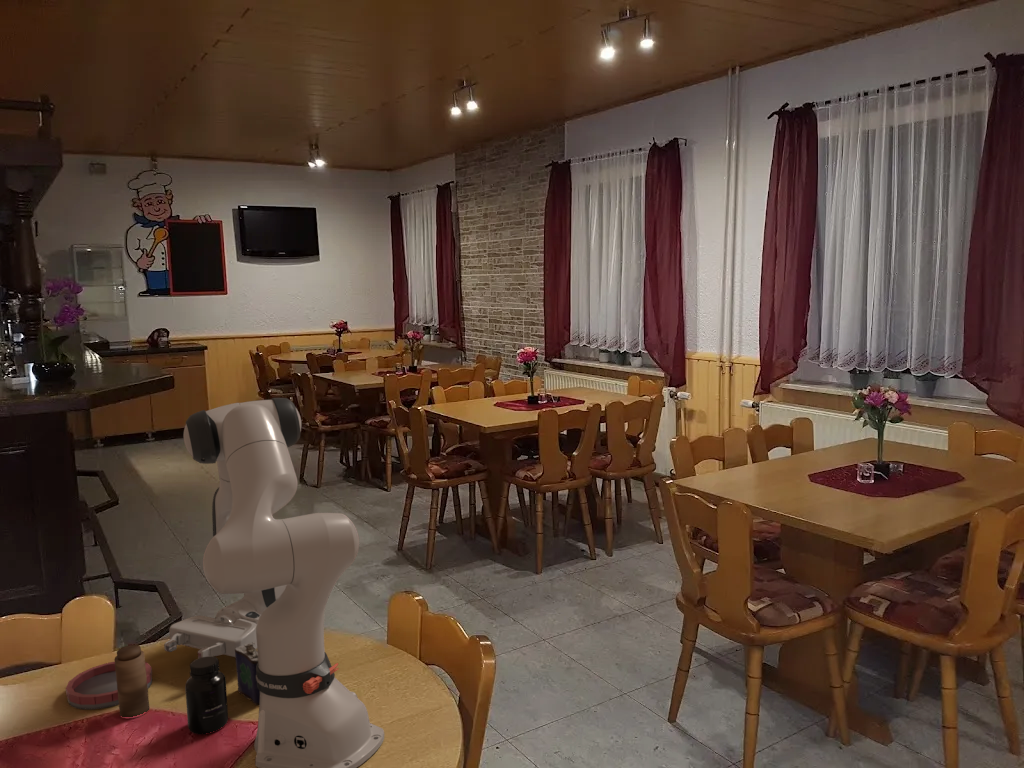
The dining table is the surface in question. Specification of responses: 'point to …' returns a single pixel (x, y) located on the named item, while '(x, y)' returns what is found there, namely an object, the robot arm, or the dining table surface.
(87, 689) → the round tray
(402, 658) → the dining table surface
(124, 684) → the pepper mill
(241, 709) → the dining table surface
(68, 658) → the dining table surface
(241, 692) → the flask
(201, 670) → the supplement bottle
